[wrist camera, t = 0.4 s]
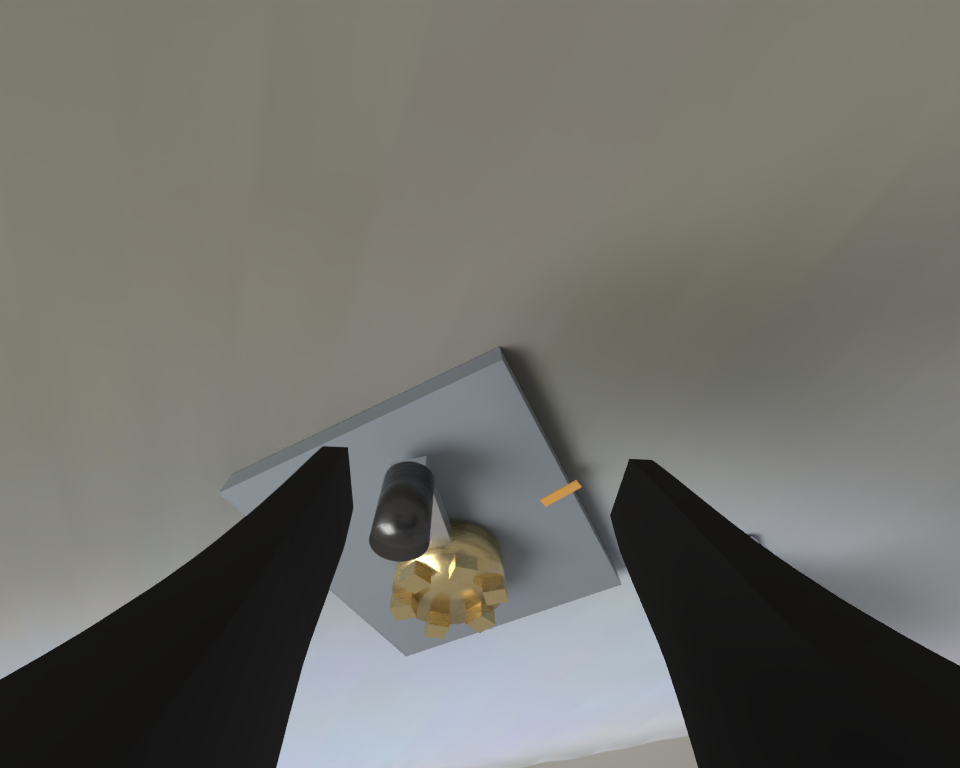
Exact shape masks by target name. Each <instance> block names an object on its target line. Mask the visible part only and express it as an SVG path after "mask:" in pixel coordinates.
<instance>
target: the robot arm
mask: <svg viewBox="0 0 960 768" xmlns="http://www.w3.org/2000/svg"><path fill="white" fill-rule="evenodd" d="M353 508H354V507H353V496H352V485H351V474H350V463H349V452H348V447H331V446H322V447H321V448H320V449H319V450H318V451H317V452H316V453H315V454H313V455H312V456H311V457H310V458H309V459H308V460H307V461H306V462H305V463H304V464H303V465H302V466H301V467H300V468H299V469H298V470H297V471H296V472H295V473H293V474H292V475H291V476H290V477H289V478H288V479H287V480H286V481H285V482H284V483H283V484H282V485H281V486H279V487H278V488H277V489H276V490H275V491H274V492H273V493H272V494H271V495H269V496H268V497H267V498H266V499H265V500H264V501H263V502H262V503H261V504H259V505H258V506H257V507H256V508H255V509H254V510H253V511H251V512H250V513H249V514H248V515H247V516H245V517H244V518H243V519H242V520H241V521H239V522H238V523H237V524H236V525H235V526H233V527H232V528H231V529H230V530H228V531H227V532H226V533H225V534H224V535H222V536H221V537H220V538H219V539H218V540H216V541H215V542H214V543H212V544H211V545H210V546H209V547H207V548H206V549H205V550H203V551H202V552H201V553H199V554H198V555H197V556H195V557H194V558H193V559H191V560H190V561H189V562H187V563H186V564H185V565H183V566H182V567H180V568H179V569H178V570H176V571H175V572H173V573H172V574H171V575H169V576H168V577H166V578H165V579H163V580H162V581H161V582H159V583H158V584H156V585H155V586H153V587H152V588H150V589H149V590H147V591H146V592H144V593H142V594H141V595H139V596H138V597H136V598H135V599H133V600H132V601H130V602H128V603H127V604H125V605H124V606H122V607H121V608H119V609H118V610H116V611H114V612H113V613H111V614H110V615H108V616H107V617H105V618H104V619H102V620H101V621H99V622H97V623H96V624H94V625H93V626H91V627H90V628H88V629H86V630H85V631H83V632H81V633H80V634H78V635H76V636H75V637H73V638H71V639H70V640H68V641H66V642H65V643H63V644H61V645H60V646H58V647H56V648H54V649H53V650H51V651H49V652H48V653H46V654H44V655H43V656H41V657H39V658H37V659H36V660H34V661H32V662H30V663H29V664H27V665H25V666H23V667H22V668H20V669H18V670H16V671H15V672H13V673H11V674H9V675H8V676H6V677H4V678H2V679H1V680H0V768H276V766H277V762H278V758H279V754H280V750H281V747H282V743H283V739H284V735H285V731H286V727H287V723H288V719H289V715H290V711H291V708H292V704H293V700H294V696H295V693H296V689H297V685H298V681H299V678H300V674H301V670H302V666H303V663H304V660H305V657H306V654H307V650H308V647H309V644H310V641H311V638H312V636H313V633H314V630H315V627H316V625H317V622H318V619H319V616H320V613H321V611H322V608H323V605H324V602H325V600H326V597H327V594H328V591H329V589H330V586H331V583H332V580H333V578H334V575H335V572H336V569H337V566H338V564H339V561H340V558H341V555H342V552H343V549H344V547H345V542H346V538H347V534H348V530H349V526H350V521H351V517H352V512H353ZM610 516H611V520H612V524H613V528H614V532H615V536H616V539H617V542H618V546H619V549H620V553H621V555H622V558H623V560H624V563H625V565H626V567H627V570H628V572H629V575H630V577H631V580H632V582H633V584H634V587H635V589H636V591H637V594H638V596H639V598H640V601H641V603H642V606H643V608H644V610H645V613H646V615H647V617H648V620H649V622H650V624H651V627H652V629H653V631H654V634H655V636H656V639H657V641H658V643H659V646H660V649H661V651H662V654H663V656H664V659H665V662H666V664H667V667H668V671H669V674H670V677H671V680H672V683H673V686H674V689H675V692H676V695H677V698H678V702H679V705H680V708H681V711H682V714H683V718H684V721H685V724H686V728H687V731H688V734H689V738H690V741H691V744H692V748H693V751H694V755H695V758H696V761H697V765H698V768H960V666H959V665H957V664H955V663H953V662H952V661H950V660H948V659H946V658H944V657H942V656H940V655H938V654H936V653H935V652H933V651H931V650H929V649H927V648H925V647H924V646H922V645H920V644H918V643H916V642H914V641H913V640H911V639H909V638H907V637H905V636H904V635H902V634H900V633H898V632H897V631H895V630H893V629H892V628H890V627H888V626H886V625H885V624H883V623H881V622H880V621H878V620H876V619H874V618H873V617H871V616H869V615H868V614H866V613H864V612H862V611H861V610H859V609H857V608H856V607H854V606H852V605H851V604H849V603H847V602H846V601H844V600H843V599H841V598H839V597H838V596H836V595H834V594H833V593H831V592H830V591H828V590H827V589H825V588H824V587H822V586H821V585H819V584H818V583H816V582H814V581H813V580H811V579H810V578H808V577H807V576H805V575H804V574H802V573H801V572H799V571H798V570H796V569H795V568H793V567H792V566H790V565H789V564H787V563H786V562H784V561H783V560H781V559H780V558H779V557H777V556H776V555H774V554H773V553H772V552H770V551H769V550H768V549H766V548H765V547H763V546H762V545H761V544H759V542H758V540H757V539H756V538H755V537H752V536H748V535H747V534H746V533H744V532H743V531H742V530H740V529H739V528H738V527H737V526H735V525H734V524H733V523H731V522H730V521H729V520H727V519H726V518H725V517H724V516H722V515H721V514H720V513H719V512H717V511H716V510H715V509H713V508H712V507H711V506H710V505H708V504H707V503H706V502H705V501H703V500H702V499H701V498H700V497H699V496H697V495H696V494H695V493H694V492H692V491H691V490H690V489H689V488H687V487H686V486H685V485H684V484H682V483H681V482H680V481H679V480H677V479H676V478H675V477H674V476H672V475H671V474H670V473H669V472H667V471H666V470H665V469H664V468H662V467H661V466H660V465H658V464H657V463H655V462H654V461H653V460H640V459H629V462H628V465H627V468H626V471H625V473H624V476H623V479H622V482H621V485H620V488H619V491H618V494H617V497H616V500H615V503H614V506H613V509H612V512H611V515H610Z"/></svg>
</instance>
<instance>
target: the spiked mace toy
mask: <svg viewBox="0 0 960 768" xmlns="http://www.w3.org/2000/svg"><path fill="white" fill-rule="evenodd" d="M369 544H370V547H371V549H372V550H373V551H374V552H375V553H376V554H377V555H379V556H380V557H382V558H384V559H387V560H390V561H396V567H395V573H394V579H393V585H392V595H391V601H390V607H389V609H390V611H391V613H392V615H393V616H394V618H395V620H396V621H399V620H405V619H411V618H416V619H418V620H421V621H425V627H424V636H426V637H433V638H440V639H444V637H445V635H446V633H447V631H448V629H449V626H450V624H461V623H466V625H467V626H469V627H471V628H472V629H474V630H476V631H477V632H479V633H481V632H483V631H484V630H486V629H488V628H490V627H492V626H493V625H495V612H494V610H495V609H496V608H497V607H498V606H499V605H500V603H506V602H508V594H507V587H506V583H505V574H504V564H503V555H502V549H501V546H500V544H499V542H498V540H497V539H496V538H495V537H494V536H493V535H492V534H491V533H490V532H489V531H487V530H486V529H484V528H482V527H480V526H477V525H475V524H472V523H468V522H462V521H449V519H448V516H447V513H446V510H445V507H444V505H443V502H442V499H441V496H440V493H439V490H438V487H437V485H436V482H435V479H434V476H433V473H432V470H431V467H430V465H429V462H428V459H427V456H424V457H419V458H414V459H409V460H403V461H398V462H393V463H391V466H390V468H389V469H388V470H387V471H386V473H385V476H384V480H383V484H382V488H381V492H380V496H379V500H378V504H377V508H376V512H375V516H374V520H373V524H372V528H371V532H370V536H369Z"/></svg>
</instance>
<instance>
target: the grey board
mask: <svg viewBox="0 0 960 768" xmlns="http://www.w3.org/2000/svg"><path fill="white" fill-rule="evenodd" d="M322 446H331V447H348V452H349V463H350V474H351V485H352V496H353V507H354V508H353V512H352V517H351V521H350V526H349V530H348V534H347V538H346V542H345V547H344V549H343V552H342V555H341V558H340V561H339V564H338V566H337V569H336V572H335V575H334V578H333V580H332V583H331V586H330V589H329V590H330V591H331V592H333V593H334V594H335V595H336V596H337V597H338V598H340V599H341V600H342V601H343V602H344V603H345V604H346V605H348V606H349V607H350V608H351V609H352V610H353V611H354V612H356V613H357V614H358V615H359V616H360V617H361V618H363V619H364V620H365V621H366V622H367V623H368V624H369V625H371V626H372V627H373V628H374V629H375V630H376V631H377V632H379V633H380V634H381V635H382V636H383V637H384V638H385V639H387V640H388V641H389V642H390V643H391V644H392V645H394V646H395V647H396V648H397V649H398V650H399V651H400V652H402V653H403V654H404V655H405V656H409V655H412V654H415V653H418V652H421V651H424V650H427V649H430V648H433V647H436V646H439V645H442V644H445V643H448V642H451V641H454V640H457V639H460V638H463V637H466V636H469V635H472V634H475V633H478V632H477V631H476V630H474V629H472V628H471V627H469V626H467V625H466V623H461V624H450V626H449V629H448V631H447V633H446V635H445V637H444V639H440V638H433V637H426V636H424V627H425V621H421V620H418V619H416V618H411V619H405V620H399V621H396V620H395V618H394V616H393V615H392V613H391V611H390V609H389V607H390V601H391V595H392V585H393V579H394V573H395V567H396V561H390V560H387V559H384V558H382V557H380V556H379V555H377V554H376V553H375V552H374V551H373V550H372V549H371V547H370V544H369V536H370V532H371V528H372V524H373V520H374V516H375V512H376V508H377V504H378V500H379V496H380V492H381V488H382V484H383V480H384V476H385V473H386V471H387V470H388V469H389V468H390V466H391V463H393V462H398V461H403V460H409V459H414V458H419V457H424V456H427V459H428V462H429V465H430V467H431V470H432V473H433V476H434V479H435V482H436V485H437V487H438V490H439V493H440V496H441V499H442V502H443V505H444V507H445V510H446V513H447V516H448V519H449V521H462V522H468V523H472V524H475V525H477V526H480V527H482V528H484V529H486V530H487V531H489V532H490V533H491V534H492V535H493V536H494V537H495V538H496V539H497V540H498V542H499V544H500V546H501V549H502V555H503V564H504V574H505V583H506V587H507V594H508V602H506V603H500V605H499V606H498V607H497V608H496V609H495V610H494V612H495V625H493V626H492V627H495V626H498V625H501V624H504V623H507V622H510V621H513V620H516V619H519V618H522V617H525V616H528V615H531V614H534V613H537V612H540V611H543V610H546V609H549V608H552V607H555V606H558V605H561V604H564V603H567V602H570V601H573V600H576V599H579V598H582V597H585V596H588V595H591V594H594V593H597V592H600V591H603V590H606V589H609V588H612V587H615V586H618V585H621V582H620V580H619V577H618V575H617V572H616V569H615V567H614V564H613V563H612V561H611V559H610V557H609V555H608V553H607V551H606V549H605V547H604V545H603V543H602V542H601V540H600V538H599V536H598V534H597V532H596V530H595V528H594V526H593V524H592V522H591V521H590V519H589V517H588V515H587V513H586V511H585V509H584V507H583V505H582V503H581V501H580V500H579V498H578V496H577V494H576V492H575V491H576V490H578V489H579V488H581V487H582V486H581V485H580V484H579V482H578V481H577V480H575V481H573V482H570V480H569V479H568V477H567V475H566V473H565V471H564V469H563V467H562V465H561V463H560V461H559V459H558V458H557V456H556V454H555V452H554V450H553V448H552V446H551V444H550V442H549V440H548V438H547V437H546V435H545V433H544V431H543V429H542V427H541V425H540V423H539V421H538V419H537V417H536V416H535V414H534V412H533V410H532V408H531V406H530V404H529V402H528V400H527V398H526V396H525V395H524V393H523V391H522V389H521V387H520V385H519V383H518V381H517V379H516V377H515V375H514V374H513V372H512V370H511V368H510V366H509V364H508V362H507V360H506V358H505V356H504V354H503V353H502V351H501V349H500V347H498V348H496V349H494V350H492V351H490V352H487V353H485V354H483V355H481V356H479V357H477V358H475V359H473V360H471V361H469V362H467V363H464V364H462V365H460V366H458V367H456V368H454V369H452V370H450V371H448V372H446V373H443V374H441V375H439V376H437V377H435V378H433V379H431V380H429V381H427V382H425V383H423V384H420V385H418V386H416V387H414V388H412V389H410V390H408V391H406V392H404V393H402V394H400V395H397V396H395V397H393V398H391V399H389V400H387V401H385V402H383V403H381V404H379V405H377V406H374V407H372V408H370V409H368V410H366V411H364V412H362V413H360V414H358V415H356V416H353V417H351V418H349V419H347V420H345V421H343V422H341V423H339V424H337V425H335V426H333V427H330V428H328V429H326V430H324V431H322V432H320V433H318V434H316V435H314V436H312V437H310V438H307V439H305V440H303V441H301V442H299V443H297V444H295V445H293V446H291V447H289V448H286V449H284V450H282V451H280V452H278V453H276V454H274V455H272V456H270V457H268V458H266V459H263V460H261V461H259V462H257V463H255V464H253V465H251V466H249V467H247V468H245V469H243V470H240V471H238V472H236V473H234V474H232V476H231V477H230V478H229V480H228V481H227V482H226V484H225V485H224V486H223V488H222V489H221V490H220V492H219V494H220V495H221V496H222V497H223V498H225V499H226V500H227V501H228V502H229V503H230V504H231V505H233V506H234V507H235V508H236V509H237V510H238V511H240V512H241V513H242V514H243V515H244V516H247V515H248V514H249V513H250V512H251V511H253V510H254V509H255V508H256V507H257V506H258V505H259V504H261V503H262V502H263V501H264V500H265V499H266V498H267V497H268V496H269V495H271V494H272V493H273V492H274V491H275V490H276V489H277V488H278V487H279V486H281V485H282V484H283V483H284V482H285V481H286V480H287V479H288V478H289V477H290V476H291V475H292V474H293V473H295V472H296V471H297V470H298V469H299V468H300V467H301V466H302V465H303V464H304V463H305V462H306V461H307V460H308V459H309V458H310V457H311V456H312V455H313V454H315V453H316V452H317V451H318V450H319V449H320V448H321V447H322ZM492 627H490V628H492ZM488 629H489V628H488Z"/></svg>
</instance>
